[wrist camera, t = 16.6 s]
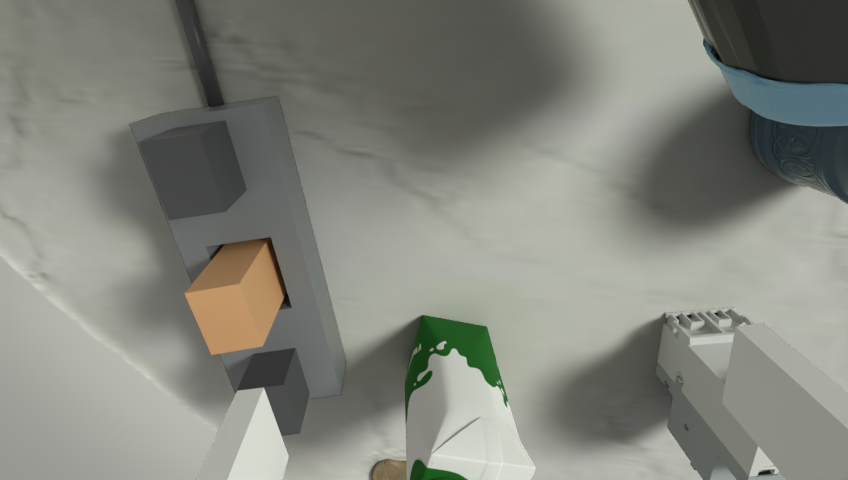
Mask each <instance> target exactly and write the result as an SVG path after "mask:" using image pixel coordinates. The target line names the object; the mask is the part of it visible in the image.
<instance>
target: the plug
mask: <svg viewBox="0 0 848 480" xmlns="http://www.w3.org/2000/svg"><path fill="white" fill-rule="evenodd" d="M286 292H287V290H286V286H285V283H284V280H283V276H282V273H281V270H280V266H279V263H278V260H277V256H276V253H275V250H274V246H273V243H272V240H271V237H268V238H261V239H255V240H248V241H241V242H234V243H228V244H225V245H224V246H223V247H222V248H221V250H220V251H219V252H218V253H217V254H216V256H215V257H214V258H213V259H212V261H211V262H210V263H209V264H208V265H207V267H206V268H205V269H204V270H203V271H202V273H201V274H200V275H199V276H198V277H197V279H196V280H195V281H194V282H193V283H192V285H191V286H190V287H189V288H188V290H187V291H186V292H185V293H184V294H185V296H186V299H187V301H188V303H189V305H190V308H191V310H192V312H193V314H194V317H195V319H196V321H197V324H198V326H199V328H200V330H201V333H202V335H203V337H204V339H205V342H206V344H207V346H208V348H209V351H210V353H211V355H215V354H221V353H227V352H233V351H238V350H244V349H250V348H256V347H262V346H263V345H264V343H265V340H266V338H267V336H268V333H269V331H270V329H271V327H272V324H273V322H274V320H275V317H276V315H277V313H278V310H279V308H280V306H281V303H282V301H283V299H284V297H285V294H286Z"/></svg>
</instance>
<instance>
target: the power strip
mask: <svg viewBox="0 0 848 480" xmlns="http://www.w3.org/2000/svg"><path fill="white" fill-rule="evenodd" d="M175 1H176V5H177V8H178V11H179V14H180V17H181V20H182V23H183V27H184V30H185V33H186V36H187V39H188V42H189V45H190V49H191V52H192V55H193V58H194V61H195V64H196V67H197V70H198V74H199V77H200V80H201V83H202V86H203V89H204V92H205V96H206V99H207V102H208V105H209V106H208V107H201V108H194V109H188V110H181V111H175V112H168V113H161V114H158V115H155V116H152V117H149V118H146V119H143V120H140V121H137V122H134V123H131V124H129V125H130V127H131V130H132V133H133V135H134V138H135V140H136V143H137V145H138V148H139V150H140V153H141V155H142V158H143V160H144V163H145V166H146V168H147V171H148V173H149V176H150V178H151V181H152V183H153V186H154V188H155V191H156V193H157V196H158V199H159V201H160V204H161V206H162V209H163V211H164V214H165V216H166V219H167V221H168V224H169V226H170V229H171V232H172V234H173V237H174V239H175V242H176V244H177V247H178V249H179V252H180V254H181V257H182V260H183V262H184V265H185V267H186V270H187V272H188V275H189V277H190V280H191V282H192V283H193V282H194V281H195V280H196V279H197V277H198V276H199V275H200V274H201V273H202V271H203V270H204V269H205V268H206V267H207V265H208V264H209V263H210V262H211V261H212V259H213V258H214V257H215V256H216V254H217V253H218V252H219V251H220V250H221V248H222V247H223V246H224V245H225V244H228V243H234V242H241V241H248V240H255V239H261V238H268V237H271V240H272V243H273V246H274V250H275V253H276V256H277V260H278V263H279V266H280V270H281V273H282V276H283V280H284V283H285V286H286V290H287V292H286V294H285V297H284V299H283V301H282V303H281V306H280V308H279V310H278V313H277V315H276V317H275V320H274V322H273V324H272V327H271V329H270V331H269V333H268V336H267V338H266V340H265V343H264V345H263V346H262V347H256V348H250V349H244V350H238V351H233V352H227V353H221V354H220V356H221V359H222V361H223V364H224V366H225V369H226V371H227V374H228V376H229V379H230V381H231V384H232V387H233V389H234V392H235V394H236V392H237V391H240V390H248V389H255V388H263V387H264V389H265V392H266V395H267V397H268V400H269V403H270V406H271V409H272V411H273V414H274V417H275V420H276V422H277V425H278V428H279V431H280V434H281V436H284V435H291V434H298V433H300V430H301V426H302V422H303V418H304V414H305V410H306V406H307V402H308V399H315V398H322V397H329V396H336V395H342V388H343V382H344V376H345V369H346V363H347V361H346V358H345V354H344V350H343V346H342V342H341V338H340V334H339V330H338V326H337V323H336V319H335V315H334V311H333V307H332V303H331V299H330V295H329V291H328V288H327V284H326V280H325V276H324V272H323V268H322V264H321V260H320V256H319V253H318V249H317V245H316V241H315V237H314V233H313V229H312V225H311V221H310V218H309V214H308V210H307V206H306V202H305V198H304V194H303V190H302V186H301V183H300V179H299V175H298V171H297V167H296V163H295V159H294V155H293V151H292V148H291V144H290V140H289V136H288V132H287V128H286V124H285V120H284V116H283V113H282V109H281V105H280V101H279V97H278V96H274V97H268V98H261V99H254V100H248V101H241V102H234V103H228V104H224V101H223V98H222V95H221V92H220V88H219V85H218V82H217V78H216V75H215V72H214V69H213V65H212V62H211V59H210V56H209V52H208V49H207V46H206V42H205V39H204V36H203V33H202V29H201V26H200V23H199V20H198V16H197V13H196V10H195V6H194V3H193V0H175Z"/></svg>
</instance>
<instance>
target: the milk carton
mask: <svg viewBox="0 0 848 480" xmlns="http://www.w3.org/2000/svg"><path fill="white" fill-rule="evenodd" d="M405 409H406V458H407V480H531V478H532V476H533V474H534V471H535V469H536V467H535V466H534V464H533V462H532V461H531V459H530V457H529V455H528V454H527V452H526V450H525V449H524V447H523V445H522V443H521V441H520V439H519V435H518V432H517V429H516V426H515V422H514V419H513V416H512V412H511V409H510V406H509V402H508V399H507V396H506V392H505V389H504V386H503V382H502V379H501V376H500V372H499V369H498V365H497V362H496V358H495V354H494V351H493V347H492V344H491V340H490V336H489V333H488V329H487V327H485V326H480V325H474V324H469V323H463V322H458V321H452V320H447V319H441V318H436V317H430V316H425V315H422V318H421V322H420V325H419V329H418V332H417V336H416V339H415V343H414V346H413V350H412V353H411V357H410V360H409V364H408V367H407V373H406V380H405Z"/></svg>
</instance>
